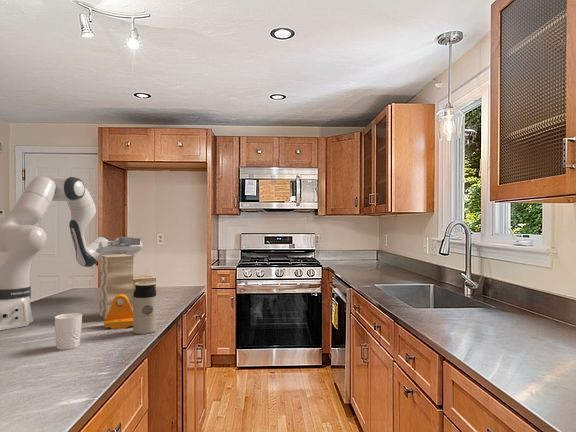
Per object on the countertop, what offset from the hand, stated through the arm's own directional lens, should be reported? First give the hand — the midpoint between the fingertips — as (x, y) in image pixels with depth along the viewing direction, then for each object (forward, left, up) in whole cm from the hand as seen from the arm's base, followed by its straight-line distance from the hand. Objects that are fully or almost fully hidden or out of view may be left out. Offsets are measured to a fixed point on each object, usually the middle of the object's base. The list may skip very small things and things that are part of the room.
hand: (124, 239), depth 199 cm
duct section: (-2, -6, -2) cm, 7 cm away
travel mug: (-29, -45, -32) cm, 63 cm away
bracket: (-28, -31, -32) cm, 53 cm away
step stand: (-13, -18, -32) cm, 39 cm away
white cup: (-54, -38, -32) cm, 74 cm away
